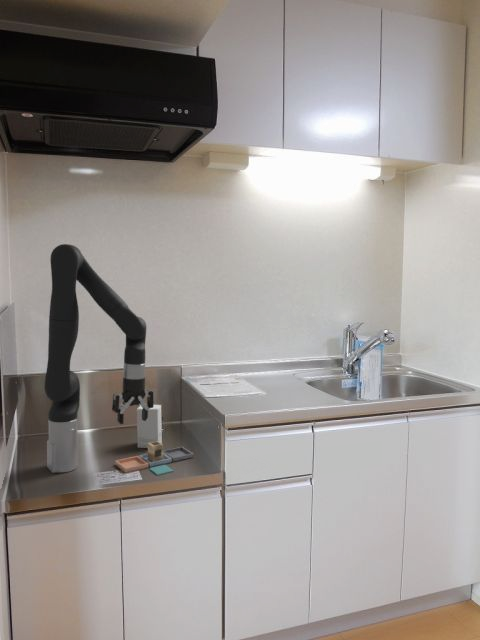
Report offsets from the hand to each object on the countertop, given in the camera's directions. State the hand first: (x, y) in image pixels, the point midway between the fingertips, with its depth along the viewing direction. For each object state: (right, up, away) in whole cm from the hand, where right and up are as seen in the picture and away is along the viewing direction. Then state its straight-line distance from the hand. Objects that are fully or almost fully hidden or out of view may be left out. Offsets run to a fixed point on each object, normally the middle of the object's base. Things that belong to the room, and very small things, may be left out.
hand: (132, 422), depth 179 cm
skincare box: (+2, -14, +21) cm, 25 cm away
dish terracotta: (-1, -16, +1) cm, 16 cm away
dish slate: (+7, -15, +6) cm, 18 cm away
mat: (+10, -16, -2) cm, 19 cm away
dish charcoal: (+14, -15, +12) cm, 23 cm away
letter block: (+7, -15, +6) cm, 17 cm away
